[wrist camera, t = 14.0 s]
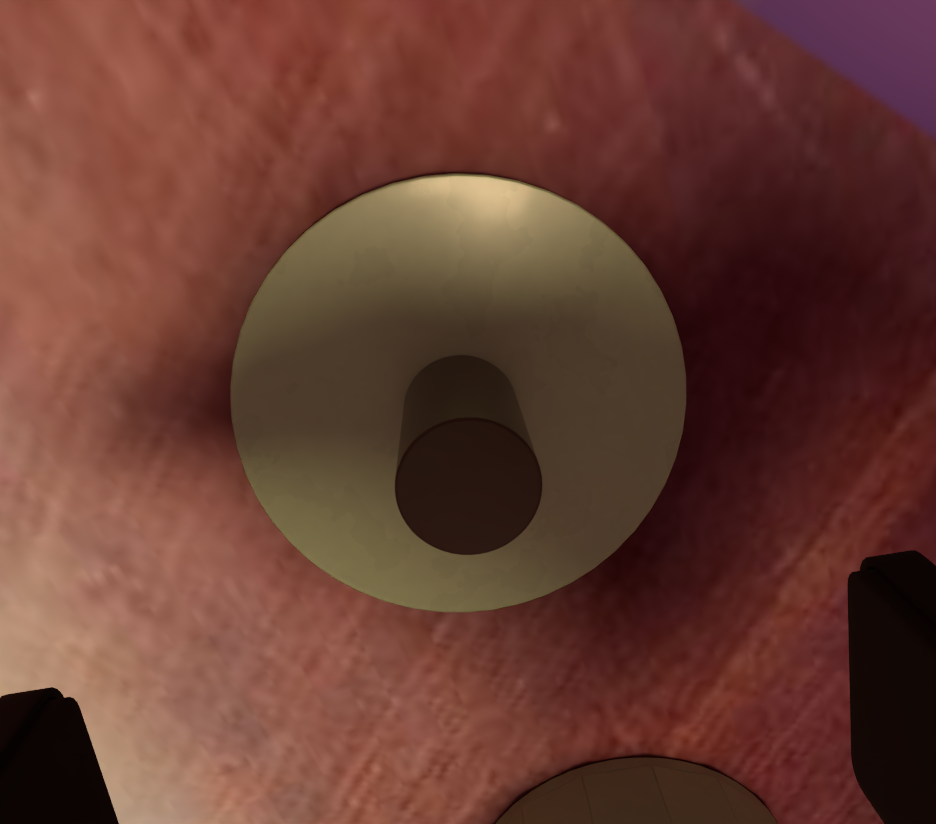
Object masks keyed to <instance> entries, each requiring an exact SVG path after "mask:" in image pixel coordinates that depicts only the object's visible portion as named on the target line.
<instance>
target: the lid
mask: <svg viewBox="0 0 936 824" xmlns="http://www.w3.org/2000/svg"><path fill="white" fill-rule="evenodd" d="M230 397H231V418H232V424H233V430H234V436H235V441H236V446H237V449H238V452H239V456H240V459H241V462H242V465H243V468H244V471H245V474H246V476H247V478H248V480H249V482H250V484H251V486H252V488H253V491H254V493H255V495H256V497H257V499H258V500H259V502H260V503H261V505H262V506H263V508H264V509H265V511H266V513H267V514H268V516H269V517H270V519H271V520H272V522H273V523H274V524H275V525H276V526H277V528H278V529H279V530H280V531H281V532H282V534H283V535H284V536H285V537H286V538H287V539H288V541H289V542H290V543H291V544H292V545H293V546H294V547H295V548H297V549H298V550H299V551H300V552H301V553H302V554H303V555H304V556H305V557H306V558H307V559H309V560H310V561H311V562H312V563H314V564H315V565H316V566H318V567H319V568H321V569H322V570H323V571H325V572H326V573H328V574H329V575H330V576H332V577H333V578H335V579H337V580H339V581H341V582H342V583H344V584H346V585H348V586H350V587H352V588H354V589H355V590H357V591H360V592H362V593H365V594H367V595H370V596H372V597H375V598H377V599H380V600H382V601H386V602H390V603H393V604H397V605H401V606H405V607H409V608H414V609H422V610H429V611H436V612H474V611H485V610H494V609H498V608H503V607H508V606H512V605H517V604H521V603H524V602H527V601H530V600H533V599H536V598H539V597H542V596H545V595H547V594H549V593H551V592H553V591H555V590H558V589H560V588H562V587H564V586H566V585H568V584H570V583H572V582H573V581H575V580H577V579H578V578H580V577H581V576H583V575H585V574H586V573H588V572H589V571H591V570H592V569H594V568H595V567H596V566H598V565H599V564H600V563H601V562H603V561H604V560H605V559H606V558H608V557H609V556H610V555H611V554H612V553H614V552H615V551H616V550H617V549H618V548H619V547H620V546H621V545H622V544H623V543H624V542H625V541H626V540H627V539H628V537H629V536H630V535H631V534H632V533H633V532H634V531H635V530H636V529H637V527H638V526H639V525H640V523H641V522H642V521H643V519H644V518H645V517H646V515H647V514H648V513H649V511H650V510H651V508H652V507H653V505H654V503H655V501H656V500H657V498H658V496H659V494H660V493H661V491H662V489H663V487H664V485H665V483H666V481H667V479H668V476H669V474H670V471H671V469H672V466H673V464H674V461H675V459H676V456H677V452H678V448H679V444H680V440H681V436H682V433H683V426H684V418H685V410H686V371H685V364H684V357H683V350H682V345H681V341H680V338H679V335H678V331H677V328H676V324H675V321H674V318H673V315H672V313H671V311H670V309H669V307H668V304H667V302H666V300H665V298H664V295H663V293H662V291H661V289H660V288H659V286H658V285H657V283H656V282H655V280H654V278H653V277H652V275H651V274H650V272H649V270H648V269H647V267H646V266H645V264H644V263H643V262H642V261H641V260H640V259H639V257H638V256H637V255H636V254H635V253H634V251H633V250H632V249H631V248H630V247H629V245H628V244H627V243H626V242H625V241H624V240H623V239H621V238H620V237H619V236H618V235H617V234H616V233H615V232H614V231H613V230H611V229H610V228H609V227H608V226H607V225H606V224H605V223H604V222H602V221H601V220H599V219H598V218H596V217H595V216H593V215H592V214H590V213H589V212H588V211H586V210H585V209H583V208H582V207H580V206H579V205H577V204H575V203H573V202H571V201H569V200H567V199H565V198H563V197H561V196H559V195H557V194H555V193H553V192H551V191H548V190H545V189H542V188H539V187H536V186H533V185H530V184H527V183H524V182H521V181H518V180H513V179H508V178H502V177H497V176H492V175H485V174H464V173H450V174H439V175H428V176H421V177H416V178H412V179H408V180H403V181H399V182H394V183H391V184H388V185H386V186H383V187H380V188H378V189H375V190H372V191H370V192H367V193H364V194H362V195H360V196H358V197H357V198H355V199H353V200H351V201H349V202H347V203H346V204H344V205H342V206H340V207H338V208H336V209H335V210H333V211H332V212H330V213H329V214H328V215H326V216H325V217H324V218H322V219H321V220H319V221H318V222H317V223H315V224H314V225H313V226H311V227H310V228H309V229H307V230H306V231H305V232H304V233H303V234H302V235H301V236H300V237H299V238H298V239H297V240H296V241H295V242H294V243H293V244H292V245H291V246H290V247H289V248H288V249H287V250H286V251H285V252H284V254H283V255H282V256H281V257H280V259H279V260H278V261H277V263H276V264H275V265H274V266H273V268H272V269H271V270H270V272H269V273H268V274H267V276H266V277H265V279H264V281H263V282H262V284H261V286H260V288H259V289H258V291H257V293H256V295H255V296H254V298H253V300H252V302H251V304H250V307H249V309H248V312H247V314H246V317H245V319H244V322H243V324H242V327H241V329H240V333H239V337H238V341H237V345H236V349H235V353H234V357H233V365H232V375H231V384H230Z"/></svg>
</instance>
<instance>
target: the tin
mask: <svg viewBox="0 0 936 824" xmlns="http://www.w3.org/2000/svg"><path fill="white" fill-rule="evenodd" d="M496 824H778V823H777V821H776V820H775V818H774V817H773V816H772V814H771V813H770V812H769V810H768V809H767V808H766V807H765V806H764V805H763V804H762V803H761V802H760V801H759V800H758V799H757V798H756V797H755V796H754V795H753V794H752V793H751V792H749V791H748V790H747V789H745V788H744V787H743V786H741V785H740V784H739V783H737V782H735V781H733V780H732V779H730V778H728V777H726V776H724V775H722V774H721V773H718V772H716V771H713V770H710V769H708V768H705V767H703V766H700V765H696V764H692V763H688V762H684V761H680V760H672V759H665V758H647V757H634V758H624V759H613V760H608V761H604V762H599V763H594V764H590V765H587V766H584V767H581V768H578V769H575V770H571V771H569V772H566V773H564V774H562V775H560V776H558V777H555V778H553V779H551V780H549V781H547V782H546V783H544V784H542V785H541V786H539V787H537V788H536V789H534V790H532V791H531V792H529V793H528V794H527V795H525V796H524V797H523V798H521V799H520V800H519V801H518V802H516V803H515V804H514V805H513V806H512V807H511V808H510V809H509V810H508V811H507V812H506V813H505V814H504V815H503V816H502V817H501V818H500V819H499V820H498V821H497V822H496Z"/></svg>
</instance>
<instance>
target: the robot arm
mask: <svg viewBox="0 0 936 824" xmlns="http://www.w3.org/2000/svg"><path fill="white" fill-rule="evenodd" d="M848 625H849V670H850V716H851V757H852V764H853V769H854V772H855V776H856V779H857V781H858V783H859V786H860V787H861V789H862V791H863V793H864V794H865V796H866V797H867V799H868V800H869V801H870V803H871V804H872V806H873V807H874V809H875V810H876V812H877V813H878V815H879V816H880V818H881V819H882V821H883V822H884V824H936V566H935V565H934V564H933V563H932V562H931V561H929V560H928V559H927V558H926V557H924V556H923V555H922V554H921V553H919V552H917V551H905V552H898V553H892V554H886V555H879V556H873V557H867V558H865V559H864V560H863V561H862V564H861V567H860V571H857V572H852V573H851V574H850V575H849V578H848ZM0 824H119V823H118V820H117V817H116V814H115V811H114V808H113V805H112V802H111V799H110V796H109V793H108V790H107V787H106V784H105V781H104V778H103V776H102V773H101V770H100V767H99V764H98V761H97V758H96V755H95V752H94V749H93V746H92V743H91V740H90V737H89V734H88V731H87V728H86V725H85V722H84V719H83V716H82V713H81V710H80V708H79V705H78V703H77V702H76V701H75V699H74V698H71V697H67V698H64V697H63V695H62V693H61V692H60V691H59V690H58V689H55V688H53V687H51V688H45V689H39V690H33V691H26V692H20V693H14V694H8V695H4V696H2V697H1V698H0Z"/></svg>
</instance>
